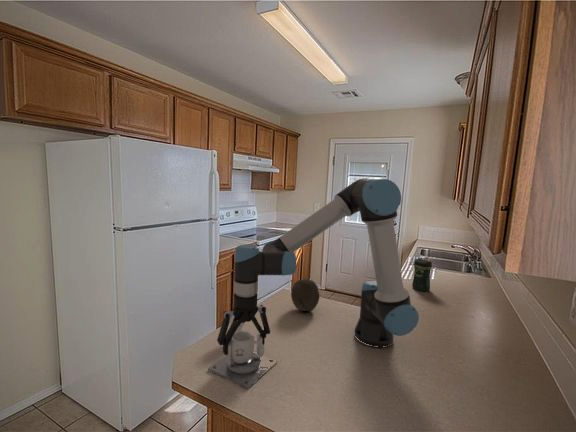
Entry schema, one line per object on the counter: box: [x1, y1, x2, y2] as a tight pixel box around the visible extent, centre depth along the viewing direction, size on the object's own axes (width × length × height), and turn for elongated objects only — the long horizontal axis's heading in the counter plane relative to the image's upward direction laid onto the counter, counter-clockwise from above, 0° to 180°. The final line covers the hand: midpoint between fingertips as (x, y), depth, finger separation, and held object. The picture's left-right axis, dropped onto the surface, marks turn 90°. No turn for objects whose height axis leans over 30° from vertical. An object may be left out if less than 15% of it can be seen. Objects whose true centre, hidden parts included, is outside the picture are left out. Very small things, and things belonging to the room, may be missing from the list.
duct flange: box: [207, 353, 273, 390], centre depth 96 cm, size 16×16×2 cm
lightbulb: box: [229, 315, 246, 332], centre depth 113 cm, size 6×6×11 cm
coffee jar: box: [411, 258, 433, 292], centre depth 179 cm, size 10×8×19 cm
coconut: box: [290, 278, 320, 312], centre depth 141 cm, size 14×14×15 cm
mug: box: [230, 330, 265, 363], centre depth 96 cm, size 12×8×8 cm
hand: (244, 358), depth 96 cm, fingers closed on mug, 10 cm apart
